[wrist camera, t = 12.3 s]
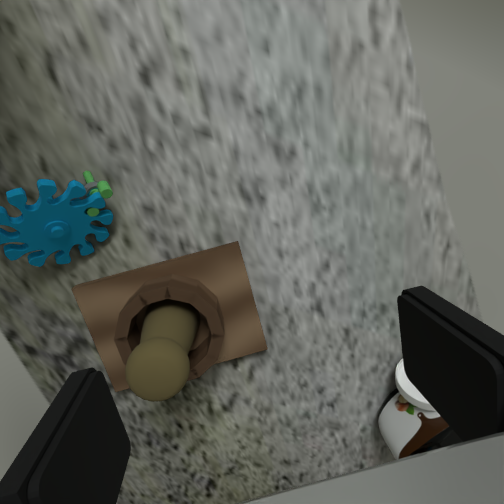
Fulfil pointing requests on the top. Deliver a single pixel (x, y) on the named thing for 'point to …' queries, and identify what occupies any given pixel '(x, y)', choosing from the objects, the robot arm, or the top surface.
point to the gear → (56, 220)
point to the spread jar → (412, 421)
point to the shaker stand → (181, 289)
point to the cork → (163, 350)
